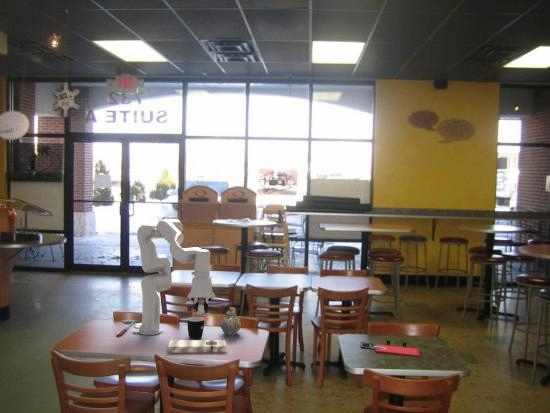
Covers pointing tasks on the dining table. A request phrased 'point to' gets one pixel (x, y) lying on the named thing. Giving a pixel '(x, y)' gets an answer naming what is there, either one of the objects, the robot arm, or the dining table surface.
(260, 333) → the dining table surface
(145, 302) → the robot arm
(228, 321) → the grey bulbous vase
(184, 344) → the subfloor board
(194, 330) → the mug
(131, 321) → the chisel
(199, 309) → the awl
